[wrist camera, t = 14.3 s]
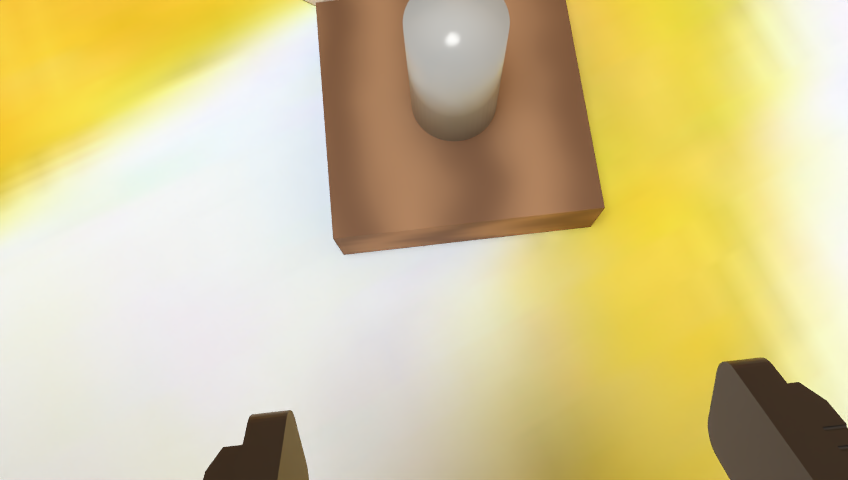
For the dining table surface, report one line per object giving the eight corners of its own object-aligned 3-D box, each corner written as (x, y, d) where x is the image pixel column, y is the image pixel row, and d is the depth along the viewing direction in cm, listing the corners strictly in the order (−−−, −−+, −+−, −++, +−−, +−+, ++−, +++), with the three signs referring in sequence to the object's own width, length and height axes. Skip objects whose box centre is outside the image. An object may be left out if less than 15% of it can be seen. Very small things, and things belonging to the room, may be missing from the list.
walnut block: (343, 254, 37) (333, 238, 34) (326, 36, 41) (315, 2, 37) (590, 226, 37) (604, 207, 34) (551, 10, 41) (560, -26, 37)
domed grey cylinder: (416, 145, 35) (408, 75, 28) (407, 68, 36) (397, -19, 29) (502, 136, 35) (517, 63, 28) (490, 59, 36) (502, -31, 29)
